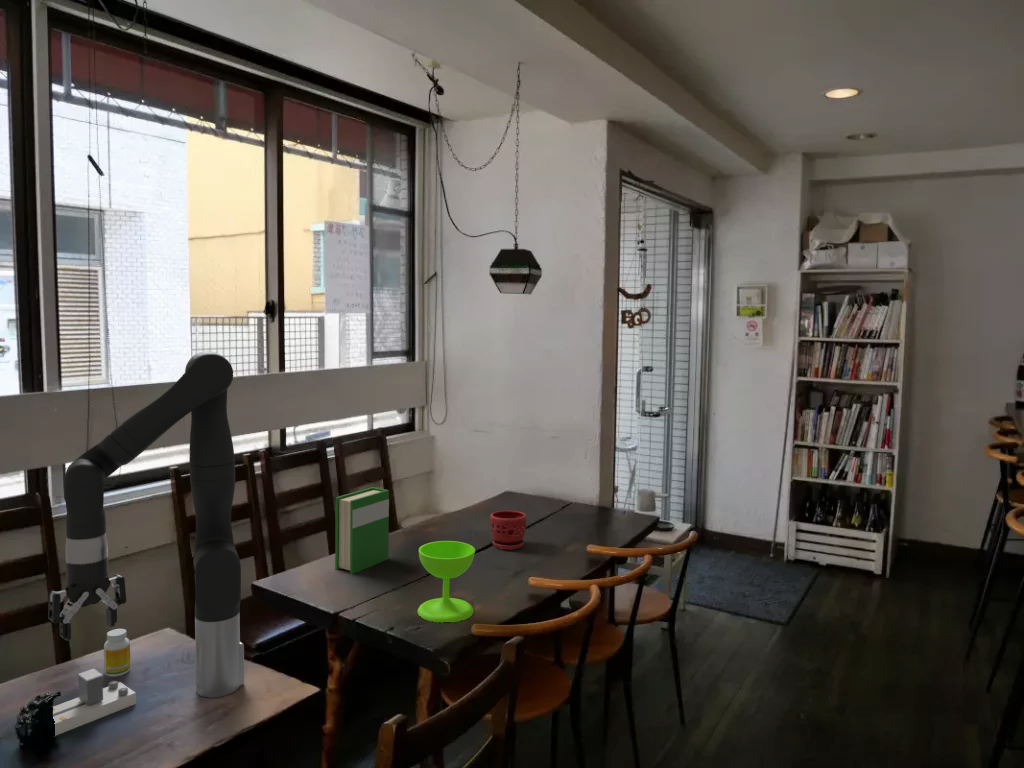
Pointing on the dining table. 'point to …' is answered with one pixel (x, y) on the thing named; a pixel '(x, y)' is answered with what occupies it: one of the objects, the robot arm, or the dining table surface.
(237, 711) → the dining table surface
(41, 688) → the dining table surface
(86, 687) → the fader tab
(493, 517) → the plant pot
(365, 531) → the hardback book
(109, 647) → the supplement bottle
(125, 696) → the console
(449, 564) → the wineglass
